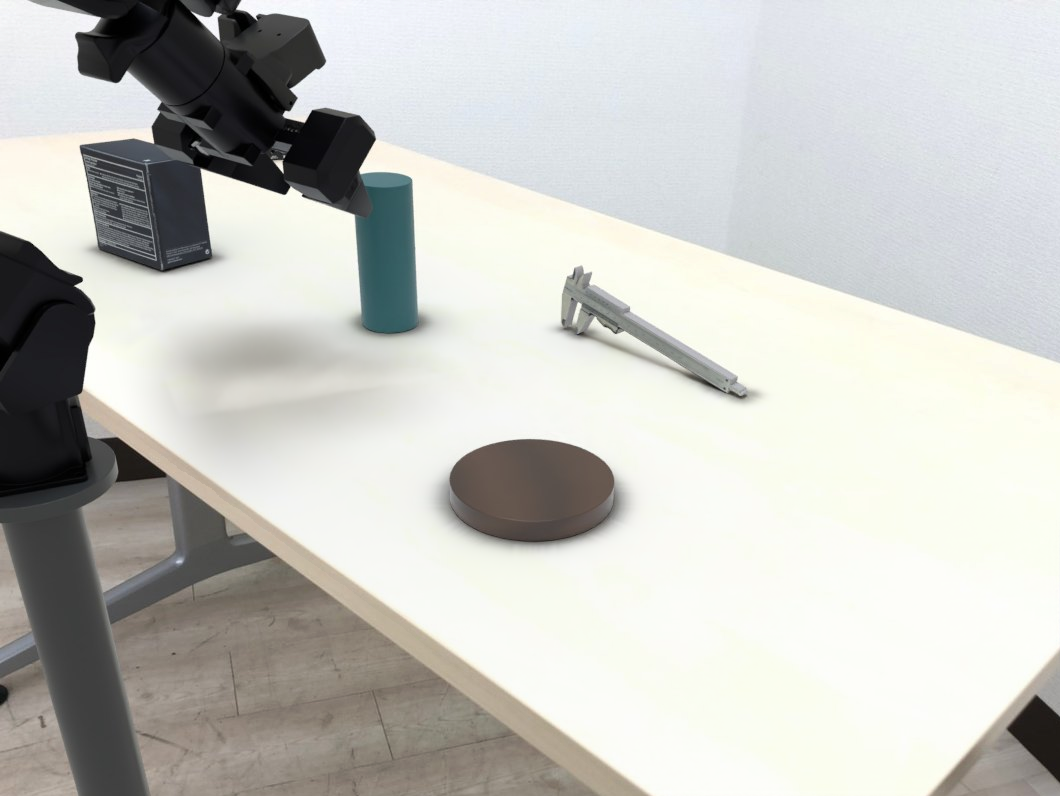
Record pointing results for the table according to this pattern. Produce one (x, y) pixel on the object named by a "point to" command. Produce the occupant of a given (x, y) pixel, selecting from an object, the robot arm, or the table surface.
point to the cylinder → (387, 254)
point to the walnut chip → (531, 489)
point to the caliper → (637, 329)
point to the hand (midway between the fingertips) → (327, 201)
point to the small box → (146, 203)
